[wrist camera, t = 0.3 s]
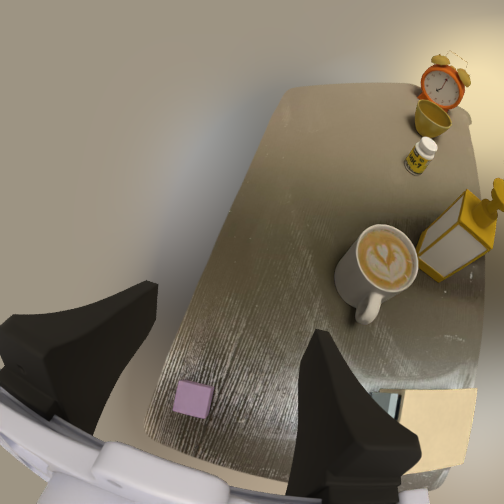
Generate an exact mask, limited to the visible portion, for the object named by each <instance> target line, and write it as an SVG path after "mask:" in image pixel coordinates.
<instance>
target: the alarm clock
mask: <svg viewBox="0 0 504 504" xmlns="http://www.w3.org/2000/svg"><path fill="white" fill-rule="evenodd" d="M431 62H432V63H435V64H434V65H433V66H431V67H429V68H428V69H427V70H426V71H425V73H424V74H423V75H422V78H421V89H422V91H423V92H422V93H421V94H420V95H419V96H418V97H417V98H418V99H420V100H422V99H423V100H429V101H431V102H433V103H435V104H437V105H438V106H439V107H441V108H442V109H443V110H444V111H445V112H446V113H447V112H448V109H453V108H455V107H457V106H458V104H459V103H460V102H461V100H462V98H463V95H464V93H465V86H466V87H469V86H470V84H471V81H470V77H469V75H468V74H467V73H466V71H465V70H464V69H457V71H458V72H457V71H456V69H455V68H454V67H453V66H448V64H450V61H449V59H448V58H447V57H445V56H441V55H440V54H439V55H437V56H433V57H432V59H431Z"/></svg>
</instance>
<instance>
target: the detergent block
mask: <svg viewBox="0 0 504 504" xmlns="http://www.w3.org/2000/svg"><path fill="white" fill-rule="evenodd" d="M213 391H214V387H213V386H209V385H205V384H201V383H197V382H193V381H189V380H179V382H178V387H177V391H176V396H175V401H174V406H173V411H175V412H179V413H183V414H186V415H190V416H194V417H198V418H202V419H205V418H206V417H207V416H208V414H209V410H210V405H211V400H212V396H213Z"/></svg>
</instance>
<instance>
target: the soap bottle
mask: <svg viewBox="0 0 504 504" xmlns="http://www.w3.org/2000/svg"><path fill="white" fill-rule="evenodd" d="M493 187H494V188H493V189H492V191H491V196H492V199H493V200H492V201H489V200H488V199H483V200H482V201H480V200H479V199H478V198H477V197H476V196H475V195H474V194H472V193H471V192H470V191H469V190H468V189H466V192H465V191H464V192H463V193H462V194H461V195H460V196H459V197H458V198H457V199H456V201H455V202H454V203H453V204H452V205H451V206H450V207H449V208H447V209H446V210H445V211H444V212H443V213H442V214H441V215H440V216H439V217H438V218H437V219H436V220H435V221H434V222H433V223H432V224H431V225H430V226H429V227H428V228H427V229H426V230H425V231H423V232H422V234H421V236H420V239H419V241H418V244H417V246H416V249H415V250H416V253H417V257H418V268H420V269H421V270H422V271H424V272H425V273H426V274H428V275H429V276H430V277H431V278H433V279H434V280H435V281H437V282H438V283H439V282H441V281H443V280H444V279H446V278H448V277H449V276H451V275H453V274H454V273H456V272H458V271H459V270H461V269H462V268H464V267H466V266H467V265H469V264H470V263H472V262H474V261H475V260H477V259H478V258H480V257H481V256H483V255H484V254H486V253H487V252H489V251H490V249H493V243H494V236H495V229H496V221H497V217H498V214H497V210H498V209H499V210H501V211H502V212H504V180H503V179H500V178H496V179H495V180H494V182H493Z"/></svg>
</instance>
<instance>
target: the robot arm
mask: <svg viewBox="0 0 504 504" xmlns="http://www.w3.org/2000/svg"><path fill="white" fill-rule="evenodd" d="M157 294H158V284H156V283H153V282H150V281H147V280H146V281H144V282H141V283H139V284H137V285H135V286H132V287H130V288H128V289H126V290H124V291H122V292H119V293H117V294H115V295H113V296H110V297H108V298H105V299H103V300H100V301H98V302H95V303H92V304H89V305H86V306H83V307H79V308H75V309H71V310H66V311H60V312H55V313H47V314H34V315H18V314H13V315H12V316H11V317H9V318H8V319H7V320H6V321H5V322H4V323H3V324H2V325H0V355H1V358H2V360H3V362H4V365H5V366H4V367H3V368H2V369H0V445H1V446H2V447H4V448H5V449H6V450H7V451H9V453H10V454H12V455H13V456H14V457H15V458H16V459H18V460H19V461H20V462H21V463H22V464H24V465H25V466H26V467H28V468H29V469H30V470H31V471H33V472H34V473H35V474H37V475H38V476H39V477H41V478H42V479H44V480H45V481H46V482H48V484H47V486H46V487H45V489H44V491H43V493H42V494H41V496H40V498H39V500H38V501H37V503H36V504H430V502H429V496H428V490H427V488H419V489H410V490H404V491H401V492H398V488H397V486H399V485H401V476H402V475H403V474H405V473H406V472H407V471H409V470H410V469H411V468H412V467H414V466H415V465H416V464H417V463H418V462H419V460H420V459H421V457H422V451H421V447H420V442H419V438H418V435H416V434H415V433H413V432H412V431H410V430H409V429H407V428H406V427H404V426H403V425H402V424H400V423H399V422H398V421H396V420H395V419H394V418H393V417H392V416H390V415H389V414H388V413H387V412H386V411H385V410H384V409H383V408H382V407H381V406H380V405H379V404H378V403H377V402H376V401H375V400H374V399H373V398H372V397H371V396H370V395H369V394H368V392H367V391H366V390H365V389H364V388H363V386H362V385H361V384H360V383H359V381H358V380H357V378H356V377H355V375H354V374H353V373H352V371H351V370H350V368H349V366H348V365H347V363H346V362H345V360H344V358H343V357H342V355H341V353H340V351H339V350H338V348H337V346H336V344H335V342H334V341H333V339H332V337H331V335H330V333H329V332H327V331H323V330H319V329H315V331H314V334H313V336H312V338H311V340H310V342H309V345H308V347H307V349H306V351H305V353H304V355H303V357H302V359H301V363H300V370H299V378H298V431H297V438H296V445H295V451H294V457H293V463H292V468H291V473H290V477H289V482H288V486H287V490H286V494H285V495H277V494H270V493H264V492H258V491H252V490H247V489H242V488H237V487H233V486H229V485H228V484H227V482H225V481H224V480H222V479H220V478H219V477H217V476H215V475H212V474H209V473H207V472H204V471H201V470H197V469H194V468H191V467H187V466H184V465H181V464H178V463H175V462H172V461H169V460H166V459H164V458H161V457H158V456H155V455H153V454H150V453H148V452H145V451H143V450H140V449H138V448H135V447H132V446H130V445H127V444H124V443H121V442H118V441H108V442H104V441H102V440H100V439H98V438H96V437H94V436H93V434H94V431H95V428H96V425H97V423H98V420H99V418H100V416H101V413H102V411H103V409H104V406H105V404H106V402H107V400H108V398H109V396H110V393H111V391H112V390H113V388H114V386H115V384H116V382H117V380H118V378H119V376H120V374H121V373H122V371H123V370H124V368H125V367H126V366H127V364H128V363H129V361H130V360H131V358H132V357H133V356H134V354H135V353H136V351H137V350H138V349H139V347H140V346H141V344H142V343H143V341H144V340H145V339H146V337H147V336H148V334H149V332H150V330H151V328H152V326H153V324H154V322H155V320H156V310H157Z"/></svg>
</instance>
